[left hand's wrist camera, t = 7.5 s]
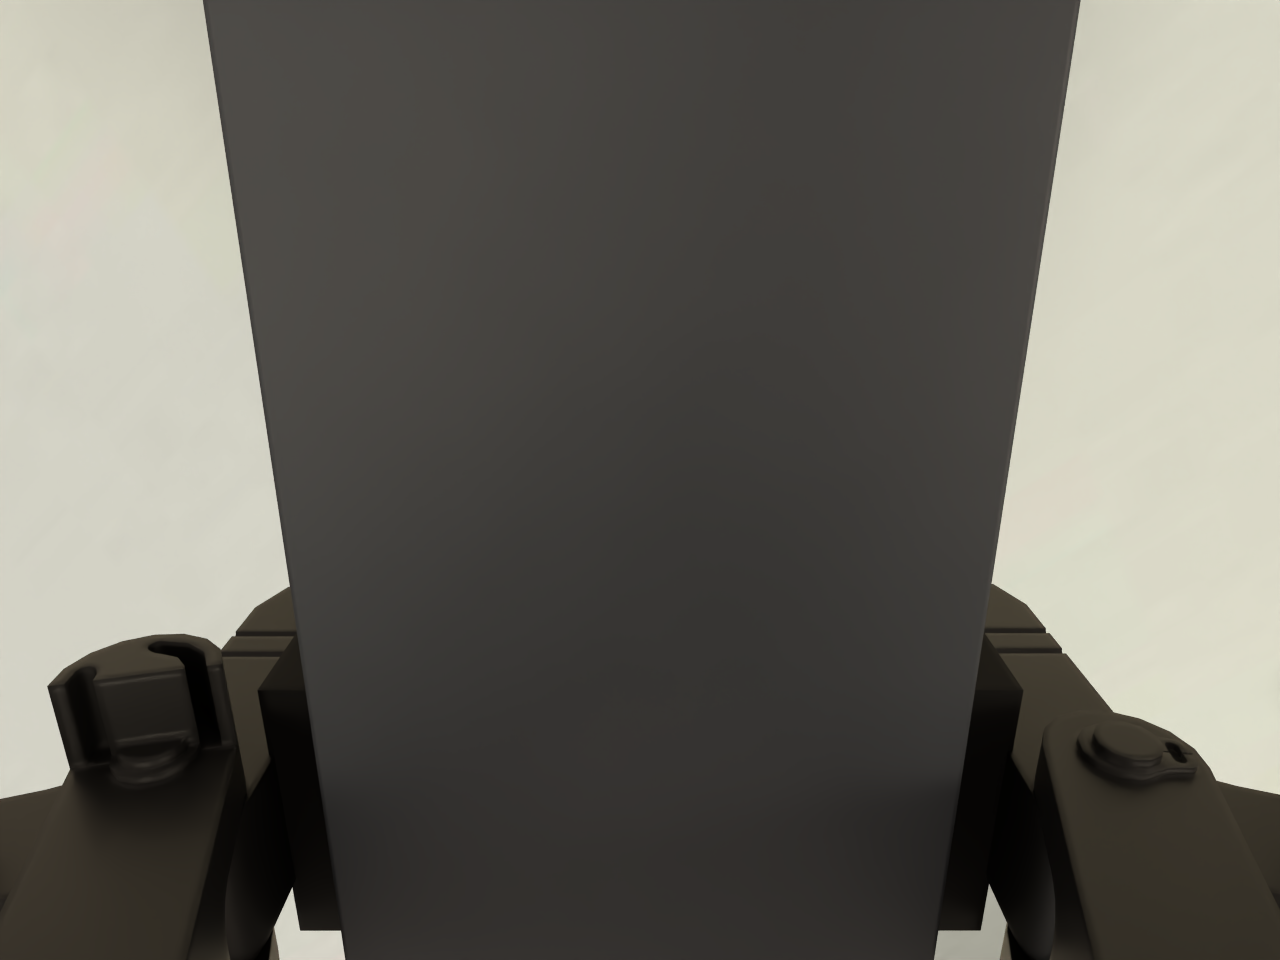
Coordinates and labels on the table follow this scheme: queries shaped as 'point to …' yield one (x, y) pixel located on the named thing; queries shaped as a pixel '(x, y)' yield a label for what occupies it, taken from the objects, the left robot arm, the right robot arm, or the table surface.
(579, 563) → the bar
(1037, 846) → the left robot arm
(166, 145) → the table surface
